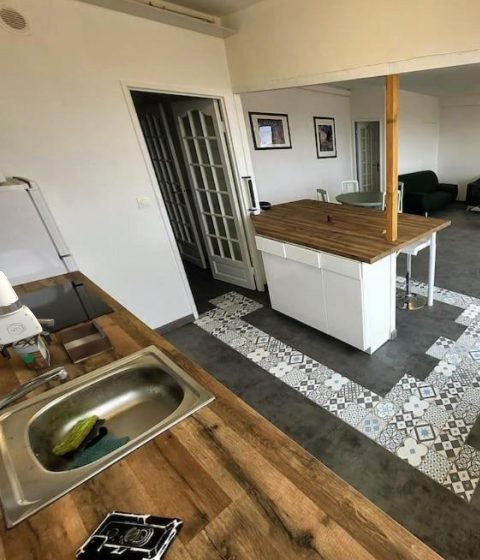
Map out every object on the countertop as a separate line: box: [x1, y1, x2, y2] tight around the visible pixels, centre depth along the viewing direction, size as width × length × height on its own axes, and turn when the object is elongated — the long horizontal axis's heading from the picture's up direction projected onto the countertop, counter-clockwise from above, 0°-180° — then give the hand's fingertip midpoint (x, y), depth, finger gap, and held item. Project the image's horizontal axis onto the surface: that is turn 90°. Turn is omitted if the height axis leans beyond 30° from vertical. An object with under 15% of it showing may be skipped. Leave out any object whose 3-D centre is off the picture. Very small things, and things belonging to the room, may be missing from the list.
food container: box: [11, 334, 51, 371], centre depth 107 cm, size 12×6×10 cm, turn 45°
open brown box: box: [57, 320, 114, 364], centre depth 117 cm, size 11×17×6 cm, turn 53°
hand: (30, 350), depth 106 cm, fingers open, 9 cm apart
